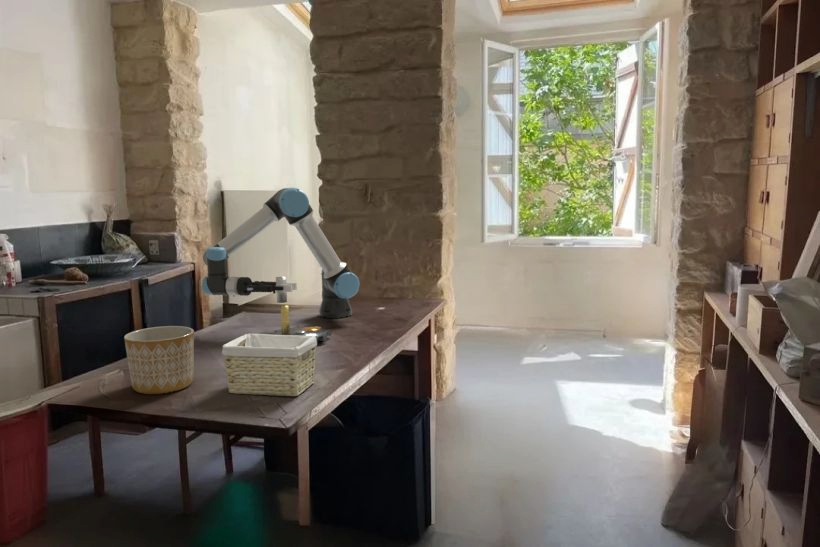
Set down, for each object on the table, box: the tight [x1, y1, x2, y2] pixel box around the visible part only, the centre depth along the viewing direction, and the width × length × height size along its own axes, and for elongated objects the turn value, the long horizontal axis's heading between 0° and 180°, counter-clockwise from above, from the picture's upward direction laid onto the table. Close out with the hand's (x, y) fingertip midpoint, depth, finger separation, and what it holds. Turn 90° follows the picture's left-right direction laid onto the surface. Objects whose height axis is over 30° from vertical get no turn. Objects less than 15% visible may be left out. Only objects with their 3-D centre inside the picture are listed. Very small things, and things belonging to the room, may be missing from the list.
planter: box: [123, 325, 195, 395], centre depth 187 cm, size 19×19×16 cm
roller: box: [275, 276, 288, 304], centre depth 248 cm, size 4×4×10 cm
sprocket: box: [270, 304, 332, 342], centre depth 240 cm, size 23×23×14 cm
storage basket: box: [221, 333, 318, 397], centre depth 184 cm, size 24×16×15 cm
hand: (294, 287), depth 247 cm, fingers closed on roller, 4 cm apart
